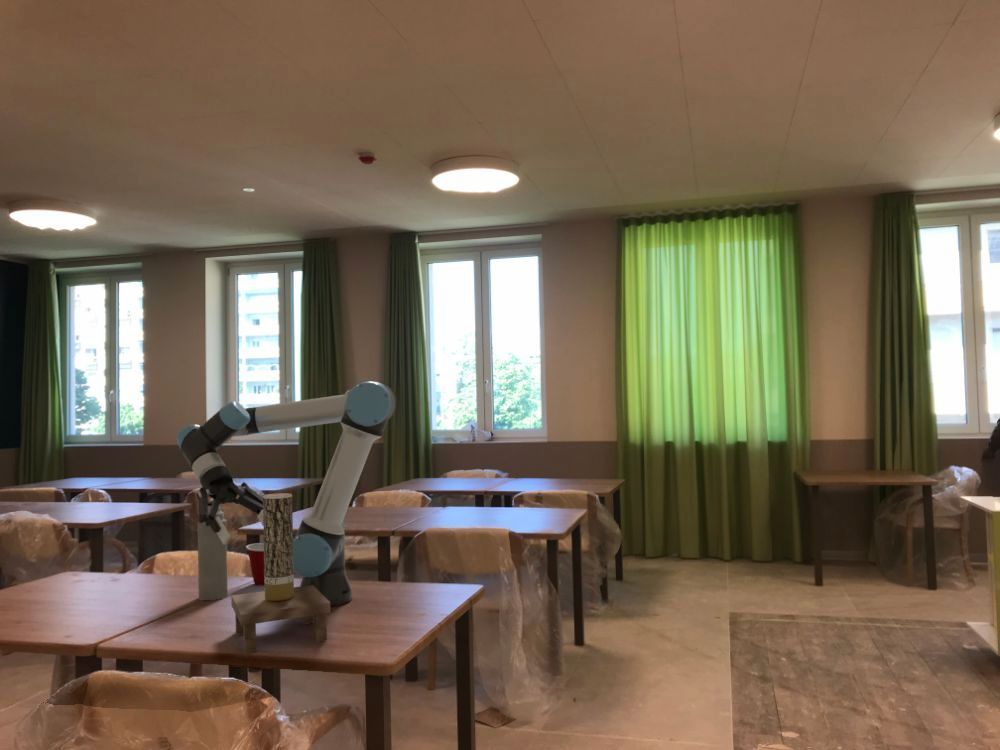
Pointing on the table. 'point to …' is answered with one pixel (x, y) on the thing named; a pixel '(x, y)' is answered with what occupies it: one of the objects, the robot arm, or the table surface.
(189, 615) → the table surface
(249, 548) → the plastic cup
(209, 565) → the thermos bottle
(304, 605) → the stool
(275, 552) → the paper tube
